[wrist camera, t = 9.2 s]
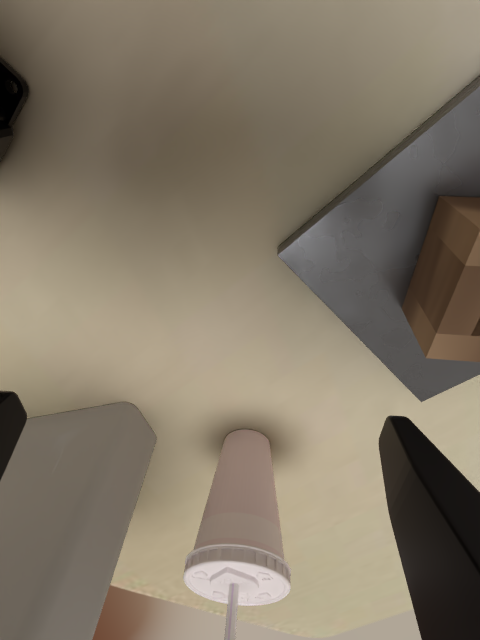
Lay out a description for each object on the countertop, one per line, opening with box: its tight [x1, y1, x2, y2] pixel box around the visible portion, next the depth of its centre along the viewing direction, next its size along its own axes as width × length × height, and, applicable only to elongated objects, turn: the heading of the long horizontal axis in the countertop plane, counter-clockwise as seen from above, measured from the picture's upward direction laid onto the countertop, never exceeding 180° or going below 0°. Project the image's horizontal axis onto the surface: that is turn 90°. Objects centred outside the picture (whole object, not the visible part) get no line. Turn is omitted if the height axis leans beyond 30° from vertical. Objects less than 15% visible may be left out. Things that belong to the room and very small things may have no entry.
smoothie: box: [183, 429, 291, 640], centre depth 23 cm, size 6×6×14 cm
